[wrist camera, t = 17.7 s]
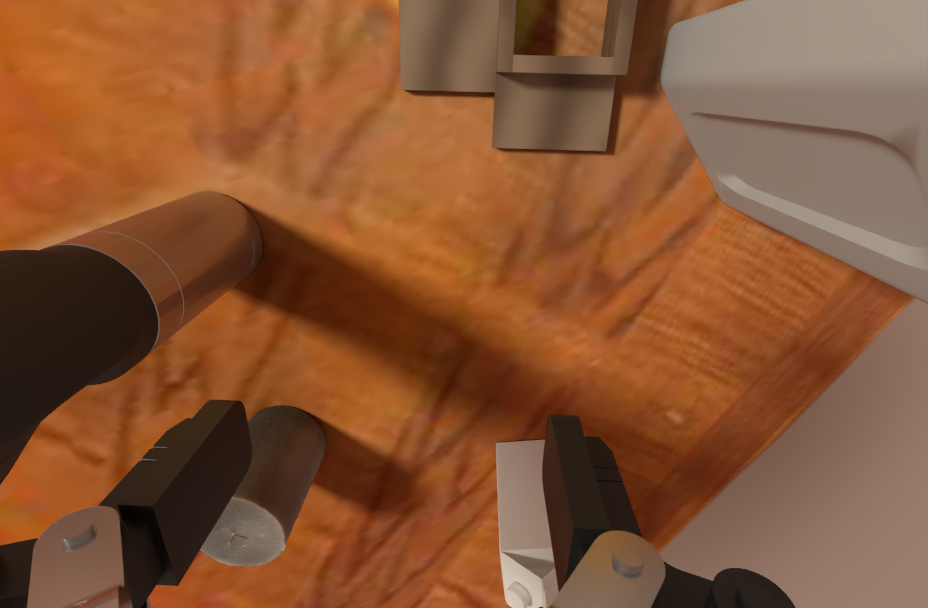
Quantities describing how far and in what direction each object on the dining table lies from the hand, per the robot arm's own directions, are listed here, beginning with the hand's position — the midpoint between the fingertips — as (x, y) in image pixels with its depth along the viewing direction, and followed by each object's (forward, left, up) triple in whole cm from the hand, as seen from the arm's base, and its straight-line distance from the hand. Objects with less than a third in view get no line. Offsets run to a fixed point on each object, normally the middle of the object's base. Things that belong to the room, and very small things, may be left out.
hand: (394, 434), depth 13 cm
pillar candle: (-20, -31, -36) cm, 52 cm away
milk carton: (+9, -33, -36) cm, 50 cm away
